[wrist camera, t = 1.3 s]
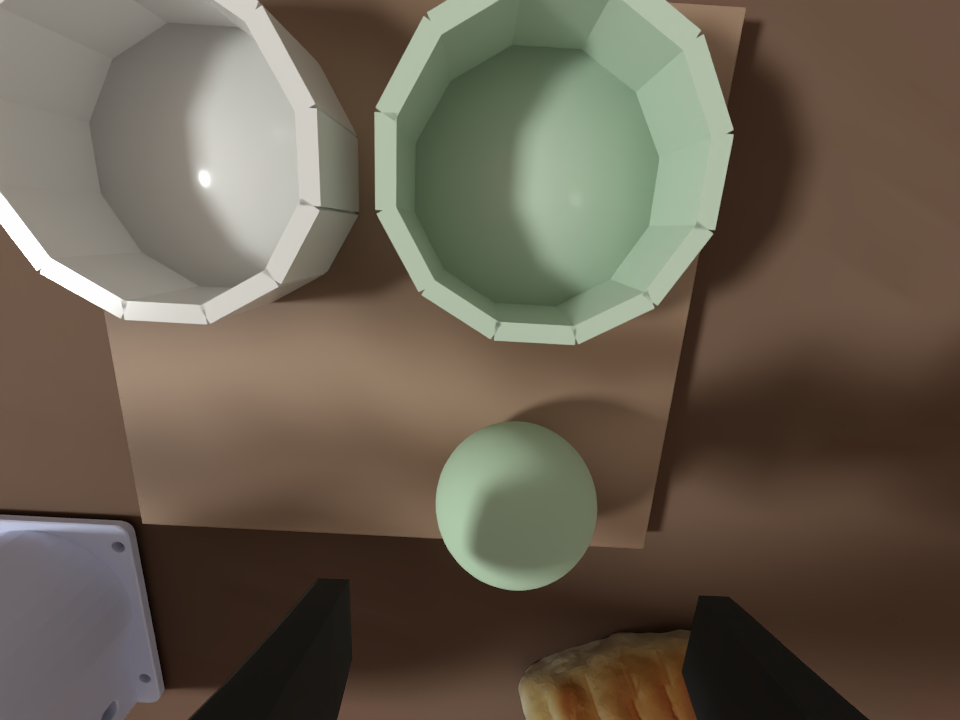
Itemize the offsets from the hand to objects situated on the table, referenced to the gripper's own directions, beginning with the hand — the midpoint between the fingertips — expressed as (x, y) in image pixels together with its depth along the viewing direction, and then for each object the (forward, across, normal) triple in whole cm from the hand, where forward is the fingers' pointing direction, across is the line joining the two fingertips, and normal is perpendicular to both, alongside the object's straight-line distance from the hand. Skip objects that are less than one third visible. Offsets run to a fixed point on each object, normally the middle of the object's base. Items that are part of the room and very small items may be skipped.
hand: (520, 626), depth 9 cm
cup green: (+8, 0, -9) cm, 12 cm away
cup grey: (+7, +9, -9) cm, 15 cm away
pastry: (+9, -6, +12) cm, 16 cm away
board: (+8, +4, -5) cm, 11 cm away
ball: (+8, 0, 0) cm, 8 cm away
